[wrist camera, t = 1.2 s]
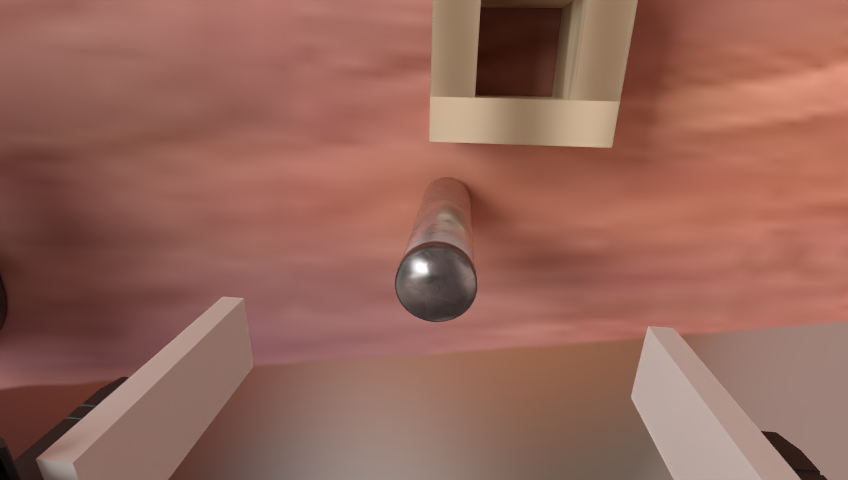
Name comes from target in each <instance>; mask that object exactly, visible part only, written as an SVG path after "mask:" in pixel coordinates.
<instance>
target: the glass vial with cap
mask: <svg viewBox="0 0 848 480" xmlns="http://www.w3.org/2000/svg"><path fill="white" fill-rule="evenodd" d="M395 289H396V293H397V296H398V299H399V300H400V302H401V304H402V305H403V306H404V308H405V309H406V310H407V311H409V312H410V313H411V314H413V315H414V316H416V317H418V318H420V319H423V320H426V321H432V322H443V321H448V320H452V319H455V318H457V317H459V316H460V315H462V314H463V313H464V312H465V311H467V310H468V308H469V307H470V306H471V305H472V303H473V301H474V299H475V296H476V292H477V277H476V270H475V264H474V249H473V234H472V219H471V204H470V195H469V192H468V190H467V188H466V187H465V185H464V184H463V183H461V182H460V181H458V180H456V179H453V178H441V179H438V180H436V181H434V182H433V183H431V184H430V185H429V187H428V188H427V190H426V192H425V195H424V198H423V201H422V204H421V207H420V210H419V212H418V215H417V218H416V221H415V224H414V227H413V230H412V233H411V236H410V239H409V242H408V245H407V248H406V251H405V254H404V257H403V259H402V261H401V263H400V266H399V268H398V271H397V274H396V279H395Z"/></svg>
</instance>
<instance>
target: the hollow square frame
mask: <svg viewBox="0 0 848 480" xmlns="http://www.w3.org/2000/svg"><path fill="white" fill-rule="evenodd" d="M637 3H638V0H433V18H432V56H431V93H430V131H429V142H457V143H486V144H515V145H544V146H574V147H603V148H612V144H613V139H614V133H615V127H616V122H617V116H618V110H619V105H620V99H621V93H622V88H623V82H624V76H625V71H626V65H627V59H628V54H629V48H630V42H631V37H632V31H633V25H634V20H635V14H636V8H637ZM480 7H507V8H562V12H561V20H560V29H559V37H558V45H557V53H556V62H555V70H554V78H553V86H552V94H551V97H542V96H504V95H475V87H476V71H477V55H478V38H479V22H480Z"/></svg>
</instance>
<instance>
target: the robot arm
mask: <svg viewBox="0 0 848 480" xmlns="http://www.w3.org/2000/svg"><path fill="white" fill-rule="evenodd" d="M5 311H6V302H5V295H4V290H3V287H2V284H1V281H0V328H1V326H2V324H3V321H4V318H5ZM253 366H254V364H253V357H252V350H251V343H250V336H249V329H248V322H247V315H246V308H245V301H244V298H236V297H221V298H220V299H219V300H218V301H217V302H216V303H215V304H213V305H212V306H211V307H210V308H209V309H208V310H206V311H205V312H204V313H203V314H202V315H201V316H200V317H198V318H197V319H196V320H195V321H194V322H193V323H192V324H190V325H189V326H188V327H187V328H186V329H185V330H184V331H182V332H181V333H180V334H179V335H178V336H177V337H175V338H174V339H173V340H172V341H171V342H170V343H169V344H167V345H166V346H165V347H164V348H163V349H162V350H161V351H159V352H158V353H157V354H156V355H155V356H154V357H153V358H151V359H150V360H149V361H148V362H147V363H146V364H144V365H143V366H142V367H141V368H140V369H139V370H138V371H136V372H135V373H134V374H133V375H132V376H131V377H121V378H119V379H118V380H116V381H114V382H112V383H110V384H108V385H107V386H105V387H103V388H101V389H100V390H98V391H97V392H96V393H95V394H94V395H92V396H91V397H90V398H89V399H88V400H86V401H85V402H84V403H83V405H82V407H78V408H77V409H76V410H74V411H73V412H72V413H71V414H70V415H68V418H67V419H64V420H62V421H61V422H60V423H59V424H57V425H56V426H55V427H54V428H53V429H51V430H50V431H49V432H48V433H47V434H45V435H44V436H43V437H42V438H41V439H39V440H38V441H37V442H36V443H35V444H33V445H32V446H31V447H30V448H29V449H28V450H26V451H25V452H24V453H23V454H21V455H20V456H19V457H18V458H17V459H15V460H14V461H13V459H12V457H11V454H10V452H9V449H8V447H7V445H6V442H5V440H4V439H3V438H1V437H0V480H168V479H169V477H170V476H171V475H172V474H173V472H174V471H175V470H176V468H177V467H178V466H179V464H180V463H181V461H182V460H183V459H184V458H185V456H186V455H187V454H188V452H189V451H190V450H191V448H192V447H193V446H194V444H195V443H196V442H197V440H198V439H199V438H200V437H201V435H202V434H203V432H204V431H205V430H206V429H207V427H208V426H209V425H210V423H211V422H212V421H213V419H214V418H215V417H216V415H217V414H218V412H219V411H220V410H221V409H222V407H223V406H224V405H225V403H226V402H227V401H228V400H229V398H230V397H231V396H232V394H233V393H234V392H235V390H236V389H237V388H238V386H239V385H240V383H241V382H242V381H243V380H244V378H245V377H246V376H247V374H248V373H249V371H250V370H251V369H252V368H253ZM631 399H632V400H633V402H634V404H635V406H636V408H637V410H638V412H639V414H640V416H641V418H642V420H643V422H644V424H645V426H646V427H647V429H648V431H649V433H650V435H651V437H652V439H653V441H654V443H655V445H656V447H657V449H658V451H659V453H660V454H661V456H662V458H663V460H664V462H665V464H666V466H667V468H668V470H669V472H670V474H671V476H672V478H673V480H827V479H826V478H825V477H824V476H823V475H820V471H819V470H818V469H817V468H816V467H815V466H814V464H813V463H812V462H811V461H810V460H809V459H808V458H807V457H806V456H805V455H804V453H803V452H802V451H801V450H799V449H798V448H797V447H795V446H794V445H793V444H791V443H790V442H788V441H787V440H786V439H784V438H783V437H782V436H780V435H779V434H778V433H776V432H765V431H760V430H759V429H758V428H757V426H756V425H755V424H754V423H753V422H752V420H751V419H750V418H749V417H748V416H747V415H746V413H745V412H744V411H743V410H742V409H741V408H740V407H739V405H738V404H737V403H736V401H735V400H734V399H733V398H732V397H731V395H730V394H729V393H728V392H727V391H726V390H725V389H724V387H723V386H722V385H721V384H720V383H719V381H718V380H717V379H716V378H715V376H714V375H713V374H712V373H711V372H710V370H709V369H708V368H707V367H706V366H705V365H704V363H703V362H702V361H701V360H700V359H699V357H698V356H697V355H696V354H695V353H694V351H693V350H692V349H691V348H690V347H689V346H688V344H687V343H686V342H685V341H684V340H683V339H682V337H681V336H680V335H679V334H678V332H677V331H676V330H675V329H674V328H669V327H655V326H648V328H647V332H646V336H645V341H644V345H643V349H642V353H641V357H640V362H639V366H638V370H637V374H636V378H635V383H634V386H633V390H632V395H631Z"/></svg>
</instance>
